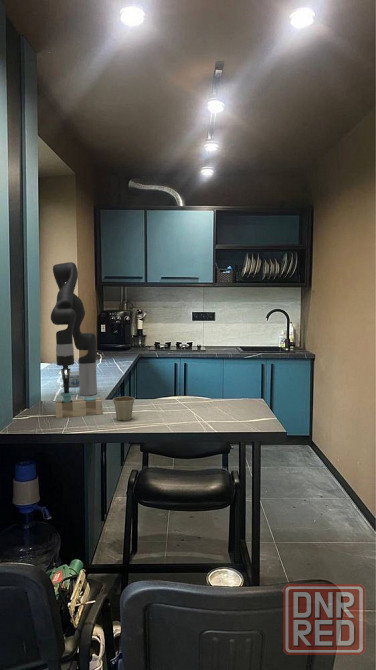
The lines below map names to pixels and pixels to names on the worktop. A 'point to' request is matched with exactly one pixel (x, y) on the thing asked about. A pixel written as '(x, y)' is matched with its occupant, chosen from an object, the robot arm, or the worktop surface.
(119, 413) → the flower pot
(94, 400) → the teal peg
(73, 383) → the chinaware
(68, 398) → the teal peg
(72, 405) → the oak block
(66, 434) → the worktop surface
